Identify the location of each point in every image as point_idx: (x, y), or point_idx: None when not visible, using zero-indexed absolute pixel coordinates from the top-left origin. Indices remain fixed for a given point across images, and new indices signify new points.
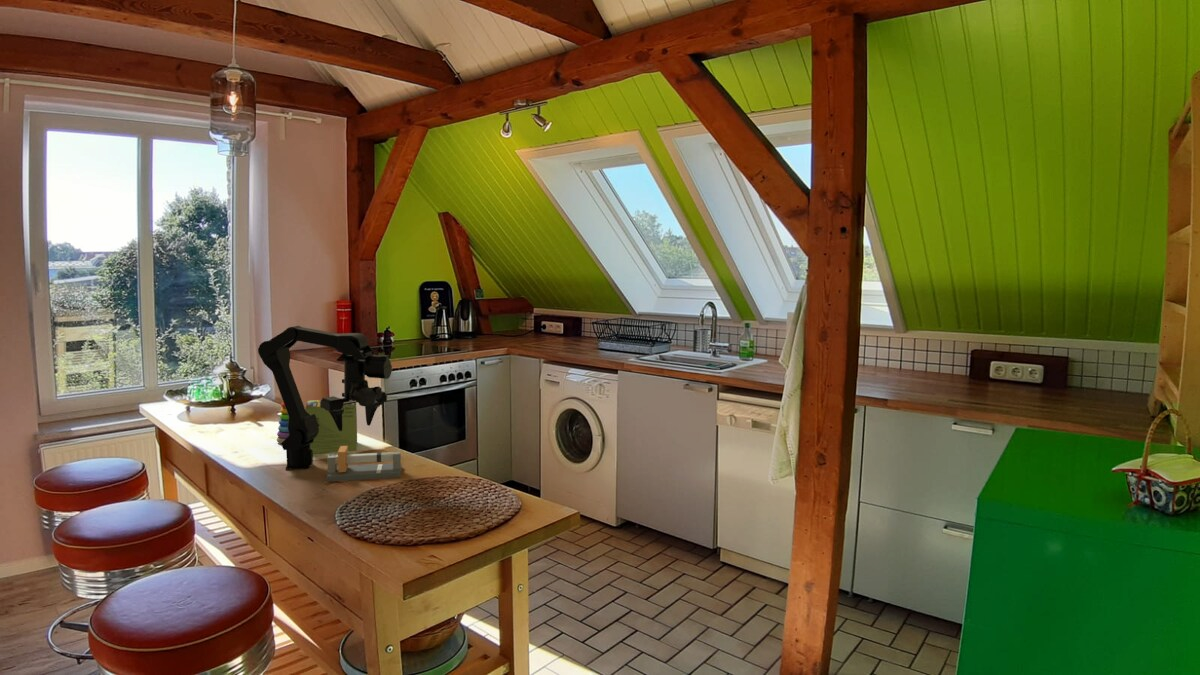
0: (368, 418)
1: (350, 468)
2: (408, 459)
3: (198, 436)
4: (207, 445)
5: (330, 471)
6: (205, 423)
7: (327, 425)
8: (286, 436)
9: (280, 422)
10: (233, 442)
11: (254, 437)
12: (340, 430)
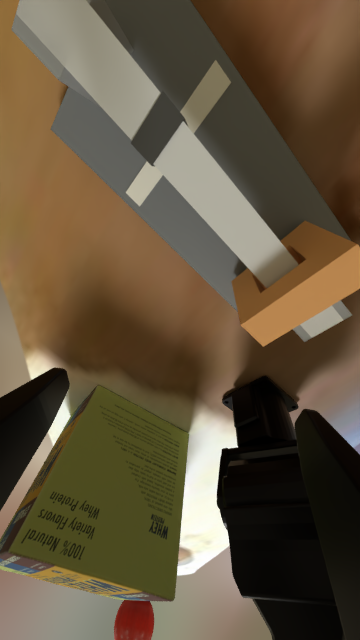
0: (25, 427)
1: (239, 259)
2: (2, 208)
3: (223, 539)
4: None
5: None
6: (183, 549)
7: (135, 490)
8: None
9: None
10: (215, 514)
11: (182, 510)
12: (321, 416)
